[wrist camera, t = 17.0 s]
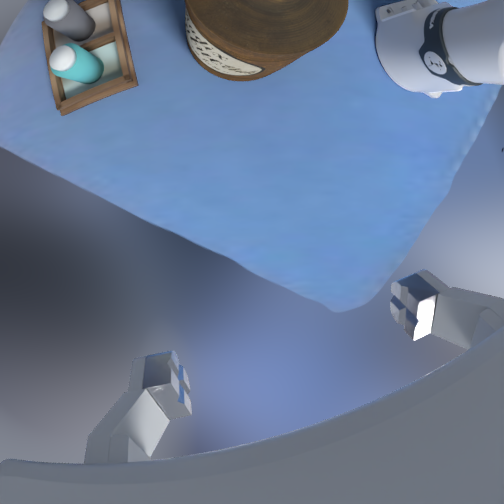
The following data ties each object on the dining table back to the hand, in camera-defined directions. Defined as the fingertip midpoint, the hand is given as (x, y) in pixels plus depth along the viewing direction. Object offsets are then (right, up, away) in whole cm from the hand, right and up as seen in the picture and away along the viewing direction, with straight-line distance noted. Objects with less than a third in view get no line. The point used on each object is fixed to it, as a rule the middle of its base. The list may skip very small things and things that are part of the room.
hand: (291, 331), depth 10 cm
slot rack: (-24, +30, +20) cm, 44 cm away
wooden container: (-3, +33, +24) cm, 41 cm away
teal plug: (-23, +27, +21) cm, 41 cm away
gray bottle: (-24, +33, +18) cm, 45 cm away
